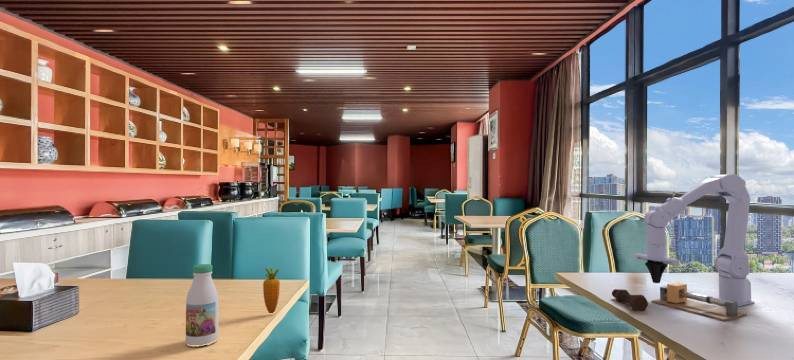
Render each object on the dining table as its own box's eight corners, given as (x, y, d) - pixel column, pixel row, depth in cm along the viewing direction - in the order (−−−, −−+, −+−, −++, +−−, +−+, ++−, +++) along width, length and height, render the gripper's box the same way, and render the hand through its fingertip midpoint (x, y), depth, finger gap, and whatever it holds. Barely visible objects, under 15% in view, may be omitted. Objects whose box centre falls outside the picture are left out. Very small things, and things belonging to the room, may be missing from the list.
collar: (667, 301, 140) (667, 284, 140) (677, 298, 142) (677, 282, 142) (676, 303, 137) (676, 286, 137) (687, 301, 139) (686, 284, 139)
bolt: (618, 303, 146) (642, 315, 131) (605, 296, 147) (628, 307, 132) (625, 289, 147) (651, 299, 132) (613, 282, 147) (637, 291, 132)
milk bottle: (193, 337, 110) (193, 262, 110) (222, 336, 111) (222, 262, 111) (180, 348, 102) (180, 268, 103) (212, 347, 103) (212, 267, 103)
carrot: (283, 313, 130) (283, 266, 131) (272, 318, 126) (272, 269, 126) (270, 311, 132) (270, 265, 133) (259, 316, 128) (259, 268, 128)
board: (651, 302, 141) (651, 300, 141) (673, 298, 146) (672, 296, 146) (724, 321, 121) (724, 318, 121) (746, 315, 127) (746, 313, 127)
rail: (660, 300, 143) (660, 286, 143) (665, 299, 144) (665, 285, 144) (732, 318, 124) (732, 302, 124) (737, 317, 125) (737, 301, 125)
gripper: (629, 242, 151) (629, 279, 151) (669, 247, 138) (670, 288, 138) (641, 241, 154) (642, 277, 154) (682, 246, 141) (683, 286, 141)
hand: (656, 282), depth 146 cm, fingers closed
